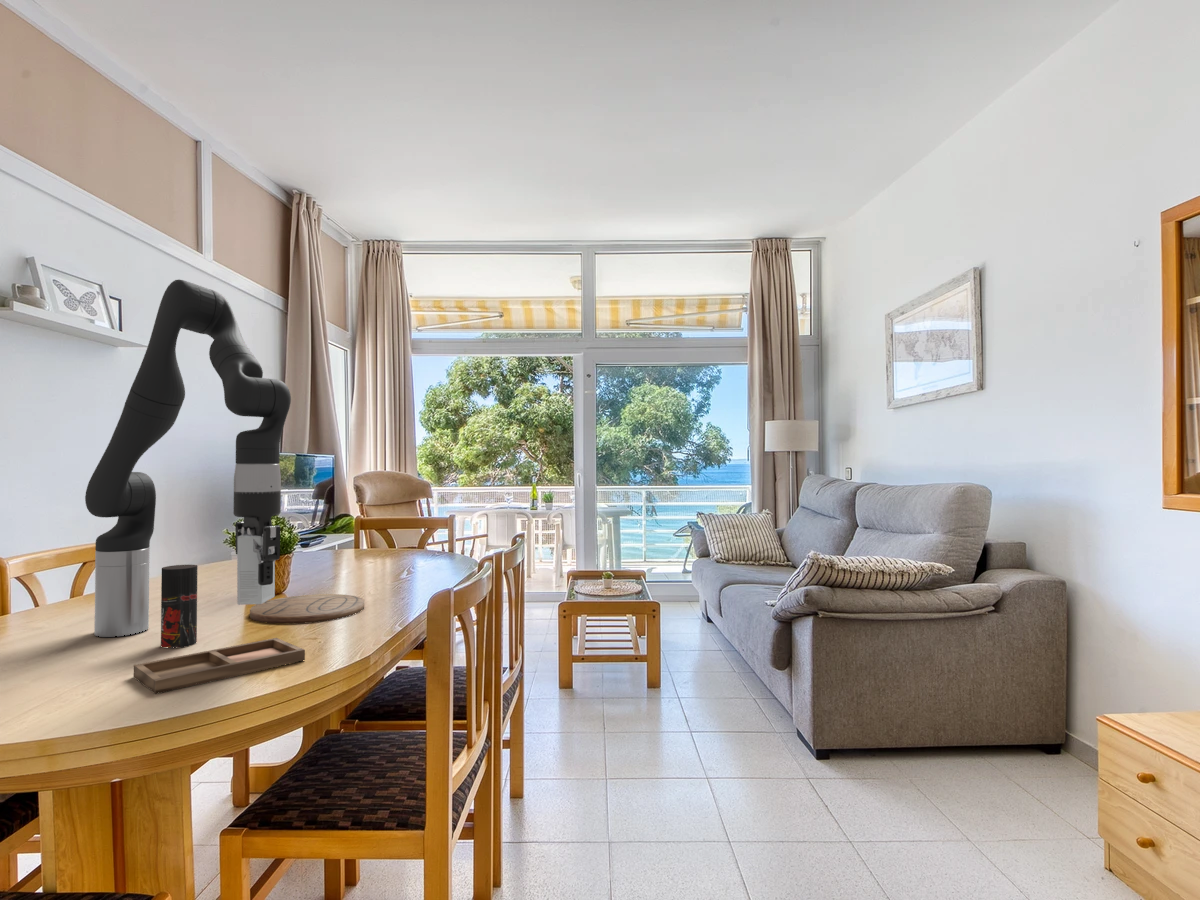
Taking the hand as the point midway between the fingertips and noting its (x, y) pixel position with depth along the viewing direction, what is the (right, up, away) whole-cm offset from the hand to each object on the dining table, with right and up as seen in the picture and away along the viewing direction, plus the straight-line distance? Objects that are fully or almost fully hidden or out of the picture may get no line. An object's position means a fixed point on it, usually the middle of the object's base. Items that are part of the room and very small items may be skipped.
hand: (256, 581), depth 120 cm
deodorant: (-21, -15, +11) cm, 28 cm away
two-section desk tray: (-4, -14, -4) cm, 15 cm away
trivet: (-8, -15, +40) cm, 44 cm away
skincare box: (0, -4, 0) cm, 4 cm away
